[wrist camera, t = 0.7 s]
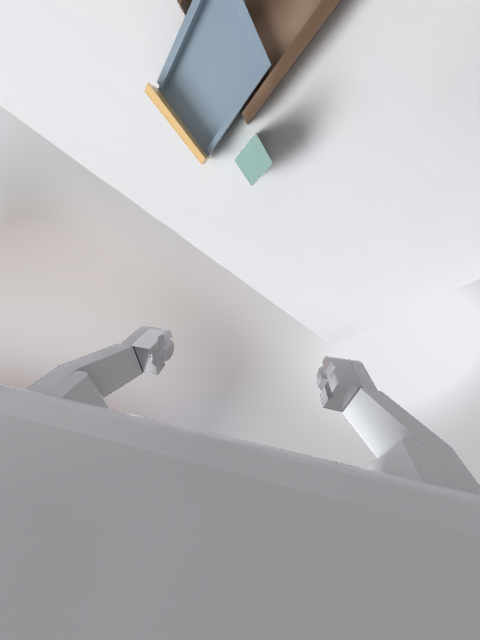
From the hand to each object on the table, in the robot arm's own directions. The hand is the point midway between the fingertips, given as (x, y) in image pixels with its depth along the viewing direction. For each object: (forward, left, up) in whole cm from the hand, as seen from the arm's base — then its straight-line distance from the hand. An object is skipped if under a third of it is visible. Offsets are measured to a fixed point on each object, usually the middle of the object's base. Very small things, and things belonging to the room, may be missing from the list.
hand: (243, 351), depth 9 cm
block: (-3, +4, -47) cm, 48 cm away
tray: (-16, +4, -46) cm, 49 cm away
